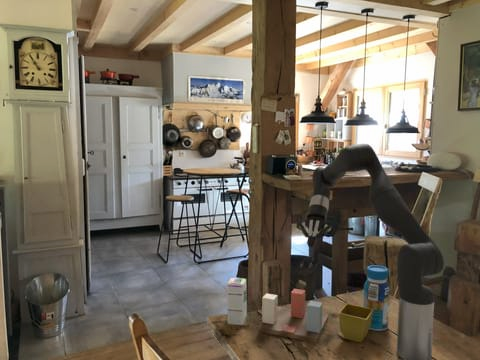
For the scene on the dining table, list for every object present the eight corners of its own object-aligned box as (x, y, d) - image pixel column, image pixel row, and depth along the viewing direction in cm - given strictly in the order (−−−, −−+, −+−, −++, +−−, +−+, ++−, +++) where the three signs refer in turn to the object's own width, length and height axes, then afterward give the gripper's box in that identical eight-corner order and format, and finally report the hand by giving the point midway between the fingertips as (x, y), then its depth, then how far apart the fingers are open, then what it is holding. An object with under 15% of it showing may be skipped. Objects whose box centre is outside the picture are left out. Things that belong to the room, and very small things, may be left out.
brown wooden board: (328, 318, 144) (328, 313, 144) (316, 343, 128) (316, 337, 128) (276, 309, 152) (276, 304, 151) (258, 331, 135) (259, 325, 135)
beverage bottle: (357, 321, 142) (359, 265, 140) (378, 318, 144) (381, 263, 142) (371, 333, 134) (373, 273, 132) (393, 330, 136) (396, 271, 134)
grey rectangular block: (321, 327, 134) (322, 302, 133) (319, 333, 130) (319, 307, 129) (309, 325, 136) (310, 300, 135) (306, 330, 132) (307, 305, 131)
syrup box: (243, 325, 139) (244, 284, 137) (226, 324, 140) (226, 282, 139) (247, 318, 145) (247, 278, 143) (230, 316, 146) (230, 276, 144)
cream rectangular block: (277, 319, 140) (277, 295, 139) (273, 324, 136) (273, 299, 135) (266, 317, 141) (266, 293, 140) (262, 322, 138) (262, 297, 137)
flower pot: (372, 335, 133) (373, 308, 132) (366, 347, 125) (367, 319, 124) (345, 329, 137) (346, 302, 136) (337, 340, 130) (338, 312, 128)
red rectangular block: (305, 313, 144) (305, 290, 143) (302, 318, 141) (302, 294, 140) (293, 311, 146) (294, 288, 145) (290, 316, 142) (291, 292, 141)
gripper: (300, 202, 166) (291, 239, 156) (334, 204, 161) (326, 243, 151) (303, 213, 171) (295, 249, 162) (336, 215, 166) (329, 253, 156)
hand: (310, 246), depth 156 cm, fingers closed
